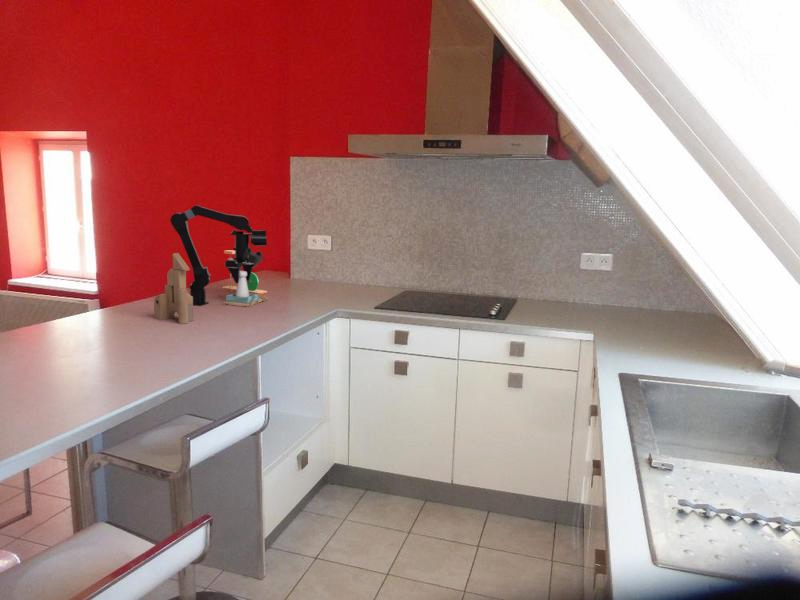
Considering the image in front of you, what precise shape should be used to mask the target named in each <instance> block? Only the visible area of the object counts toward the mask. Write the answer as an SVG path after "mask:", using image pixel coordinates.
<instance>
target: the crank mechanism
mask: <svg viewBox="0 0 800 600" xmlns="http://www.w3.org/2000/svg"><path fill="white" fill-rule="evenodd" d="M223 254H225V255H229V258H227V260H233V258H232V255H235V251H234V250H233V249H231V250H230V249H229V250H227V249H226V250H223ZM246 281H247V286H248V291H249V293H252V294H264V293H267V294H268V291H267V290H264V289H258V288H259V281H260V280H259V278H258V275H257V274H255V273H254V272H253V271H252V272H251V276H250V279H249V280H246ZM222 289H224V290H223V291H225V290H233V291H236V290H237V285H232V275H231V273H230V272H229V285H226V286H221V290H222Z"/></svg>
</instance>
